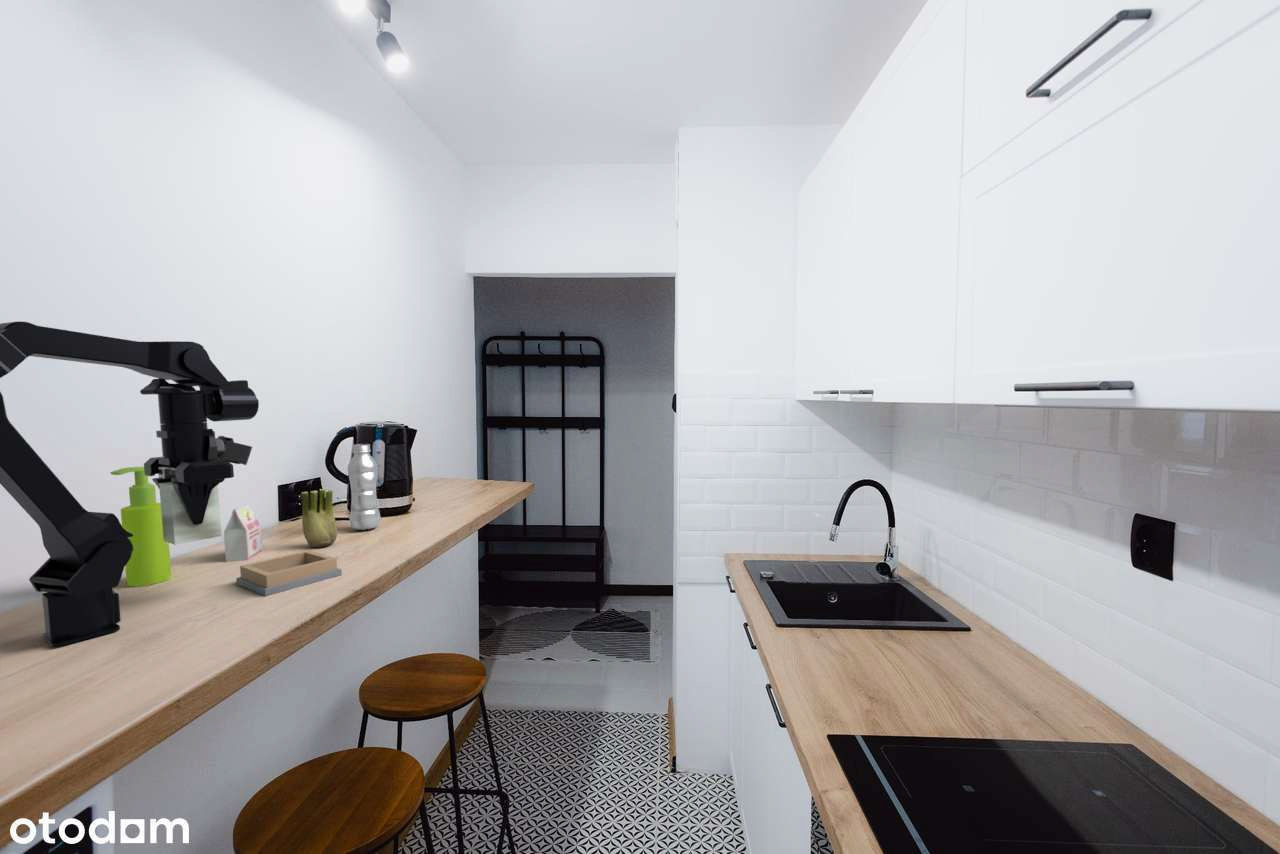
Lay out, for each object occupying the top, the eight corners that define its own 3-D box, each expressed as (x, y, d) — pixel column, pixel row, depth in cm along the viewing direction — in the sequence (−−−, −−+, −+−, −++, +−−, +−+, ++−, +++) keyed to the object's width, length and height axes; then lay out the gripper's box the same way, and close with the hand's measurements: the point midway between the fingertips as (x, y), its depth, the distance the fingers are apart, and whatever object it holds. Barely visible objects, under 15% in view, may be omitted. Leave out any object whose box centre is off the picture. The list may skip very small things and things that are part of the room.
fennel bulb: (300, 548, 117) (297, 491, 117) (319, 542, 122) (316, 487, 121) (324, 549, 116) (320, 492, 115) (342, 543, 121) (338, 487, 120)
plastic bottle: (343, 532, 130) (338, 446, 129) (362, 525, 137) (358, 443, 136) (369, 533, 129) (364, 446, 128) (387, 526, 136) (382, 443, 135)
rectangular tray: (265, 595, 89) (264, 577, 89) (236, 583, 96) (235, 566, 95) (341, 574, 99) (340, 557, 99) (310, 565, 105) (309, 549, 105)
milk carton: (226, 562, 109) (222, 510, 108) (241, 552, 116) (238, 504, 115) (247, 560, 110) (244, 509, 109) (261, 551, 116) (258, 502, 116)
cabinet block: (174, 544, 85) (169, 480, 85) (163, 540, 88) (158, 478, 88) (221, 535, 90) (217, 475, 90) (209, 532, 93) (205, 473, 93)
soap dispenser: (110, 587, 95) (101, 469, 94) (156, 574, 102) (147, 464, 101) (135, 590, 94) (125, 470, 92) (179, 576, 100) (171, 464, 99)
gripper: (268, 421, 89) (274, 518, 90) (221, 420, 100) (227, 507, 101) (181, 425, 80) (189, 534, 81) (139, 424, 91) (147, 519, 92)
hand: (191, 522), depth 89 cm, fingers closed on cabinet block, 5 cm apart
